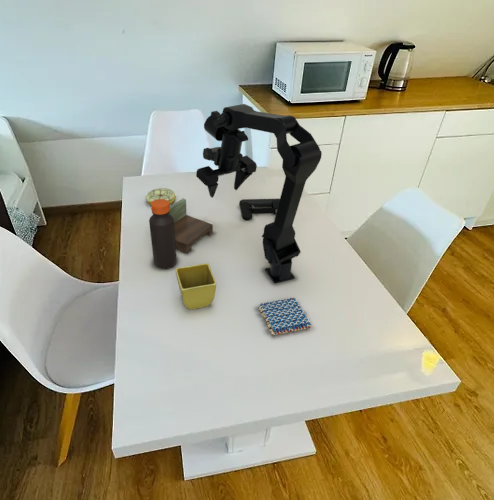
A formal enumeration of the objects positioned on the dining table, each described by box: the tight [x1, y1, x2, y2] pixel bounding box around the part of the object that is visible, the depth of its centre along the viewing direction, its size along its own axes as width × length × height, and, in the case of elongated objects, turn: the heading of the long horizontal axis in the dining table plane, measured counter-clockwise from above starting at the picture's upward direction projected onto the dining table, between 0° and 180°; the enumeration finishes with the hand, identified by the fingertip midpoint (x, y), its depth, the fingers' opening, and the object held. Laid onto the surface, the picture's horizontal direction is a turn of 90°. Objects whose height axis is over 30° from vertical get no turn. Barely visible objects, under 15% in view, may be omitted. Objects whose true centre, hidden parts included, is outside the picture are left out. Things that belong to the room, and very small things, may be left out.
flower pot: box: [174, 263, 217, 311], centre depth 99 cm, size 9×9×9 cm
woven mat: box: [258, 297, 312, 336], centre depth 97 cm, size 10×11×2 cm
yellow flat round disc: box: [145, 187, 176, 206], centre depth 145 cm, size 10×11×4 cm
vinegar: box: [148, 199, 178, 270], centre depth 110 cm, size 7×7×20 cm
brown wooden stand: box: [169, 197, 214, 254], centre depth 124 cm, size 12×14×10 cm
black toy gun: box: [238, 198, 280, 221], centre depth 139 cm, size 3×20×16 cm
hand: (223, 193), depth 121 cm, fingers open, 9 cm apart
